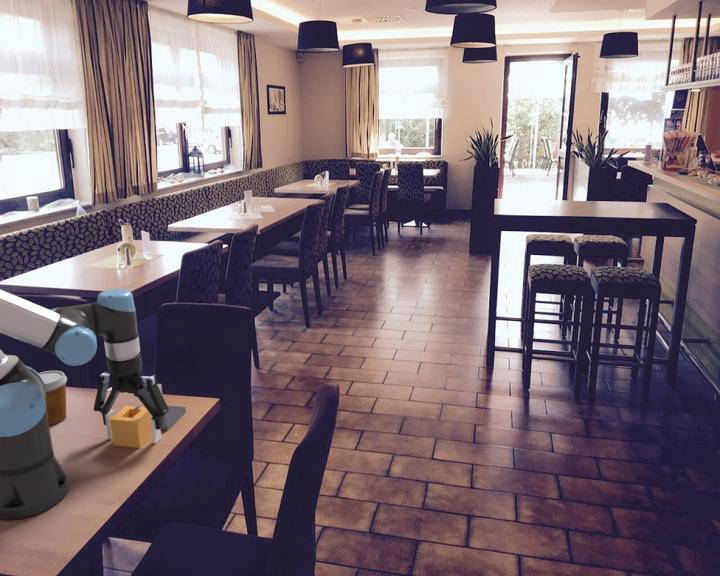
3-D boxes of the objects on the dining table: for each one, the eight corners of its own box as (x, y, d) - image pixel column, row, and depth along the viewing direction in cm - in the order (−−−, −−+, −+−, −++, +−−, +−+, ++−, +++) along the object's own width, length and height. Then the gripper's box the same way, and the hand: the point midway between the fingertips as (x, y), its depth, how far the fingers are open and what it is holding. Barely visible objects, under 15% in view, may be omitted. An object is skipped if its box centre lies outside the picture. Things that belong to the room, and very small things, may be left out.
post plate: (167, 430, 150) (163, 396, 147) (131, 427, 152) (126, 393, 149) (185, 411, 159) (182, 379, 157) (151, 409, 161) (147, 376, 159)
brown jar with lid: (80, 412, 160) (74, 370, 157) (57, 430, 151) (50, 386, 148) (49, 409, 162) (41, 368, 158) (24, 427, 153) (15, 384, 149)
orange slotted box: (140, 447, 142) (136, 420, 140) (113, 445, 144) (109, 418, 142) (155, 433, 149) (152, 407, 147) (129, 430, 150) (125, 405, 148)
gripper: (177, 351, 142) (186, 434, 148) (88, 346, 146) (100, 427, 152) (162, 364, 135) (172, 450, 141) (68, 358, 139) (82, 442, 145)
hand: (135, 438), depth 146 cm, fingers open, 11 cm apart
